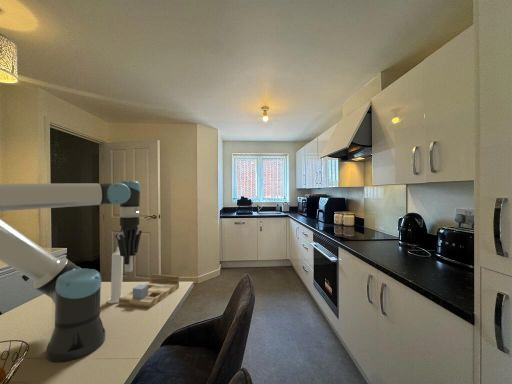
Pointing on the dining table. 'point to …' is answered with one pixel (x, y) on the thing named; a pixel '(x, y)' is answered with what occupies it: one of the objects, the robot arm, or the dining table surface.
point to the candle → (116, 277)
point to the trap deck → (153, 291)
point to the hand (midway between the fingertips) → (128, 271)
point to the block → (140, 291)
